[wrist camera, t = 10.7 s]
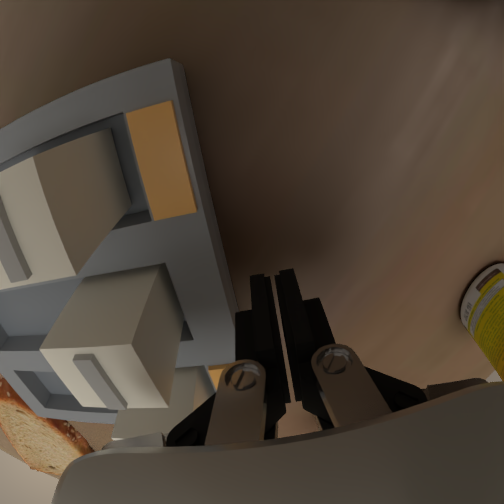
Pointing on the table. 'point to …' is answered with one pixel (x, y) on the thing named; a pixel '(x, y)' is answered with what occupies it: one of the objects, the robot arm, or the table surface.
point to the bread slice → (39, 434)
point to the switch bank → (126, 228)
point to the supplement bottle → (487, 314)
